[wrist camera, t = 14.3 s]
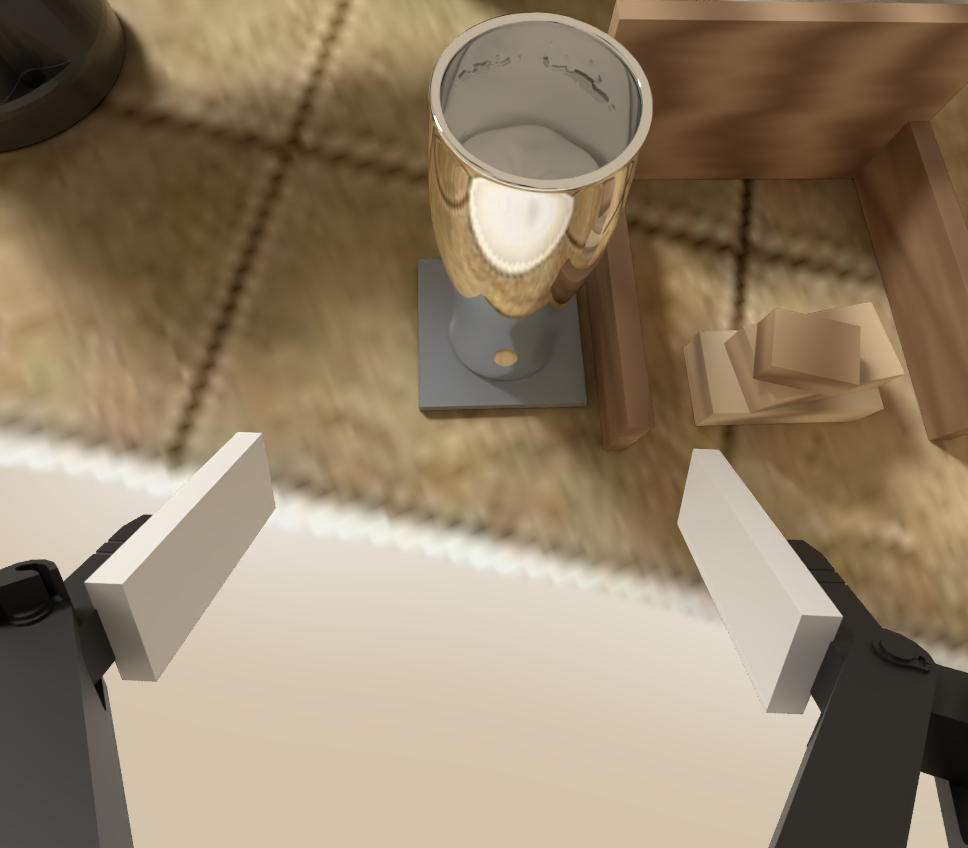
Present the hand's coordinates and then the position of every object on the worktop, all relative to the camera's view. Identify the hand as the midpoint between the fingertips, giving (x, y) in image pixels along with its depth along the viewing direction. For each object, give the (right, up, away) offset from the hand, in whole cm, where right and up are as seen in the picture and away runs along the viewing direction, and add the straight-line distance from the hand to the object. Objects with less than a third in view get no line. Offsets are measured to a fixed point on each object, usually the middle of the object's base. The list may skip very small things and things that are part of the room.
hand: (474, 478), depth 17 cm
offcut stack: (+16, +4, +14) cm, 22 cm away
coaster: (+1, +7, +14) cm, 16 cm away
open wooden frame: (+16, +9, +15) cm, 24 cm away
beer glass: (+1, +7, +13) cm, 15 cm away
